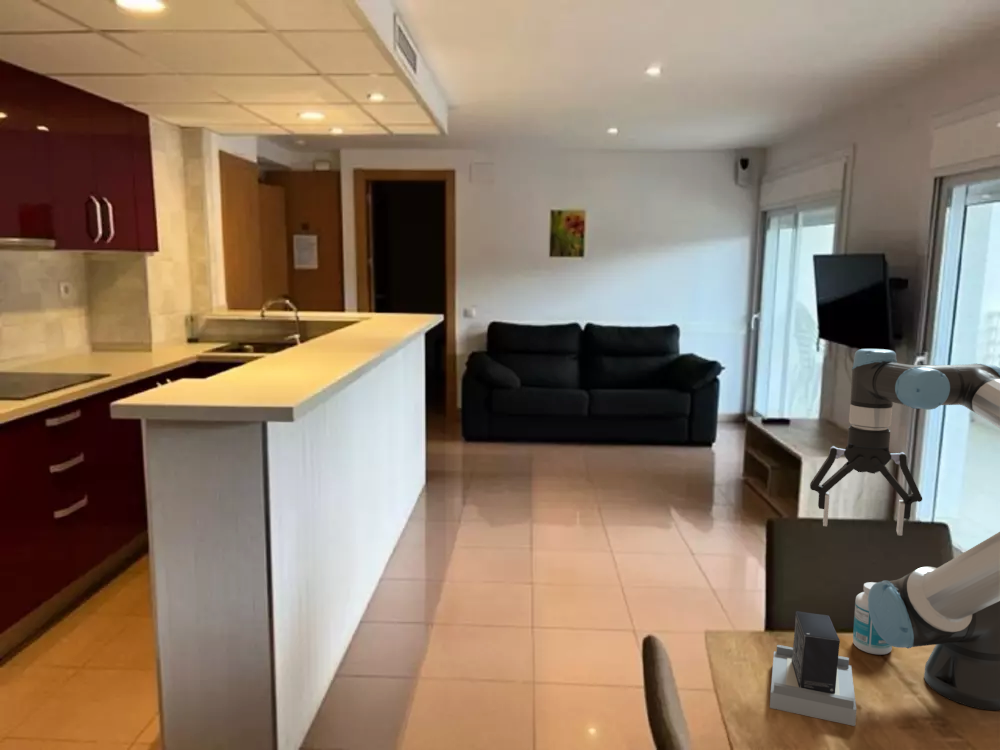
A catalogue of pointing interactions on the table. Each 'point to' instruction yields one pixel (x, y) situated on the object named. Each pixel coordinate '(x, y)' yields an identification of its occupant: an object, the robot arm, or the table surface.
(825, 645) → the small box
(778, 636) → the table surface
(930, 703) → the table surface
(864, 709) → the table surface
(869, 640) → the pill bottle
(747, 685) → the table surface
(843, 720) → the dock
